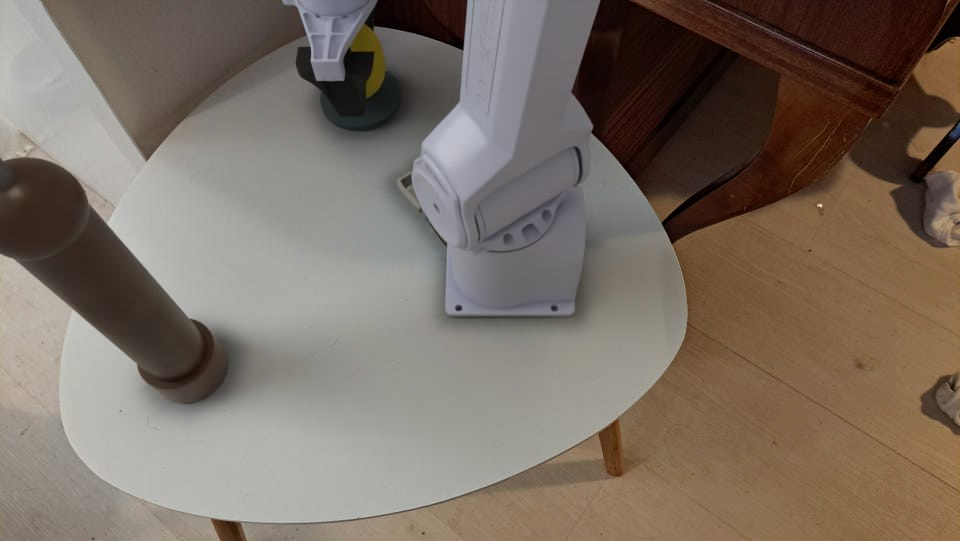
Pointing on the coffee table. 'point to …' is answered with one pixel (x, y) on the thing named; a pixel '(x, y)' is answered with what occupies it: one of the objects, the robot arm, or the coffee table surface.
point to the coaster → (368, 107)
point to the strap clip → (415, 200)
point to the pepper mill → (103, 279)
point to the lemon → (370, 42)
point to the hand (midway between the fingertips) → (356, 77)
